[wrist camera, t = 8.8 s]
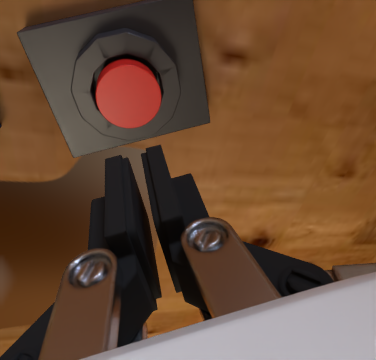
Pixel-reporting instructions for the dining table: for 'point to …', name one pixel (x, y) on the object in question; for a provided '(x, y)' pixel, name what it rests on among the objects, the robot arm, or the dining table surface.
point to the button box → (113, 50)
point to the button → (128, 93)
